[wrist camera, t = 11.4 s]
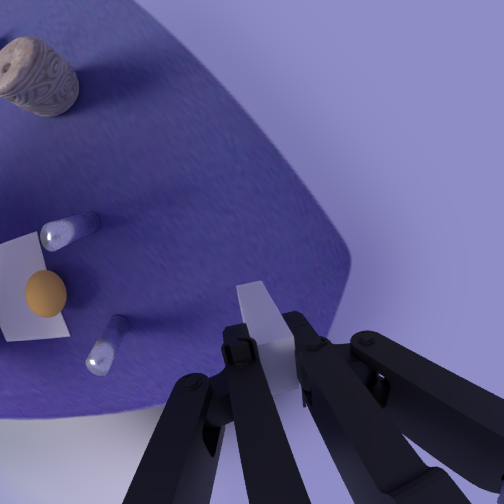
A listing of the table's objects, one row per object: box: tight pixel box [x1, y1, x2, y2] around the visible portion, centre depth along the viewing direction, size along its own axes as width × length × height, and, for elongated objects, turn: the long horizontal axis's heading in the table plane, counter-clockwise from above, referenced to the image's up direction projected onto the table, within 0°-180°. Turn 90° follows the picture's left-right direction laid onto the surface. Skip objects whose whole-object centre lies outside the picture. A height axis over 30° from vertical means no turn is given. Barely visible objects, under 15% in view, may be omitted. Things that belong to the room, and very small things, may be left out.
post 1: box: [40, 212, 100, 251], centre depth 23 cm, size 2×2×9 cm
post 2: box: [86, 315, 129, 376], centre depth 26 cm, size 2×2×9 cm
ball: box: [25, 270, 67, 318], centre depth 25 cm, size 6×6×6 cm
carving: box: [0, 36, 79, 117], centre depth 17 cm, size 6×8×12 cm
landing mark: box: [0, 231, 71, 342], centre depth 27 cm, size 14×14×1 cm
